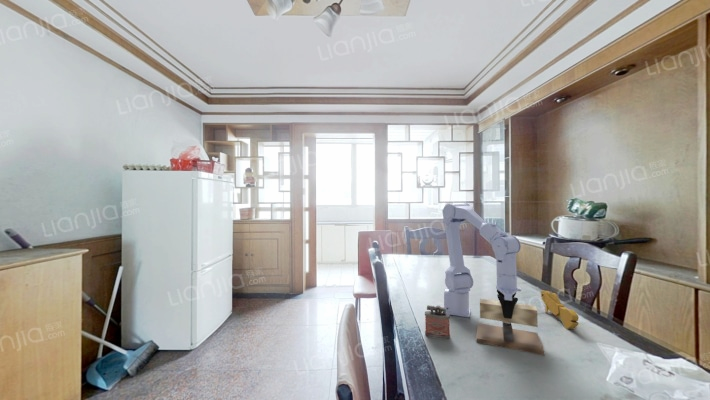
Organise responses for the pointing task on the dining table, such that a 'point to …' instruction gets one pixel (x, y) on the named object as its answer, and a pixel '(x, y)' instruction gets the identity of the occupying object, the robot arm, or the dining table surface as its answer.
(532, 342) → the ridge stand
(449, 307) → the robot arm
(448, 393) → the dining table surface
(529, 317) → the pine batten
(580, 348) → the dining table surface
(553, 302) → the decorative fish
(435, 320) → the lighter
